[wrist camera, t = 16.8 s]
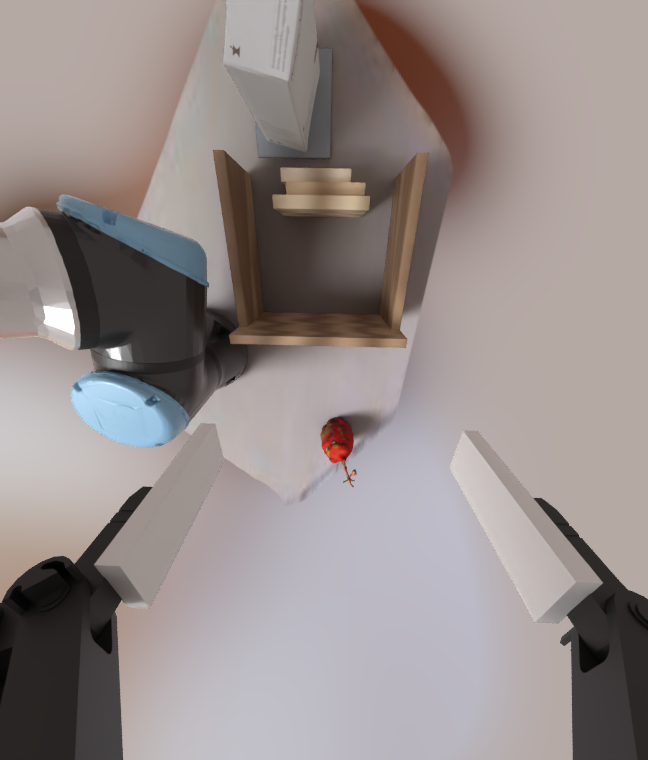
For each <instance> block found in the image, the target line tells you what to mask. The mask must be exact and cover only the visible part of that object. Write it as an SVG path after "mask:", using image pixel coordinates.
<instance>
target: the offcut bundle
mask: <svg viewBox="0 0 648 760" xmlns="http://www.w3.org/2000/svg"><path fill="white" fill-rule="evenodd" d="M280 171H281V182H282V184H283V185H284V186H285V188H286V195H272V197H273V209H275V210H276V211H278V212H279V213H280V214H282V215H283V216H317V217H363V215H364V214H365V213H366V212H367V211H368V210H369V204H370V196H365V185H366V183H359V182H351V169H343V168H280Z"/></svg>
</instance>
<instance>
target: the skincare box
mask: <svg viewBox="0 0 648 760" xmlns="http://www.w3.org/2000/svg"><path fill="white" fill-rule="evenodd" d="M223 64H224V66H225V67H226V68H227V70H228V72H229V74H230V75H231V77H232V79H233V81H234V83H235V84H236V86H237V88H238V90H239V92H240V93H241V95H242V97H243V99H244V101H245V102H246V104H247V106H248V108H249V109H250V111H251V113H252V115H253V117H254V118H255V120H256V122H257V124H258V126H259V127H260V129H261V131H262V133H263V135H264V137H265V138H266V140H267V141H270V142H273V143H276V144H279V145H283V146H286V147H289V148H292V149H295V150H298V151H302V152H307V147H308V137H309V130H310V123H311V117H312V111H313V105H314V100H315V95H316V90H317V85H318V81H319V76H320V65H319V53H318V41H317V28H316V15H315V3H314V0H226V29H225V41H224V50H223Z"/></svg>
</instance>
